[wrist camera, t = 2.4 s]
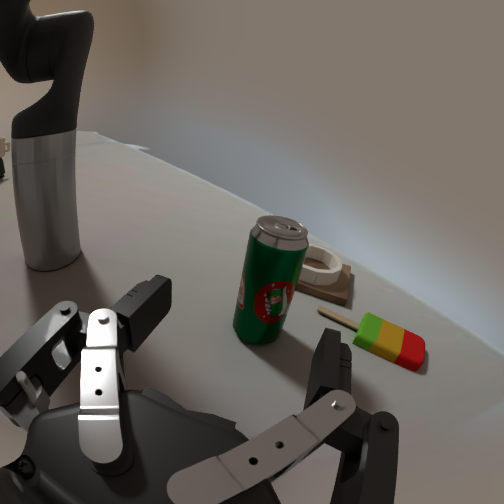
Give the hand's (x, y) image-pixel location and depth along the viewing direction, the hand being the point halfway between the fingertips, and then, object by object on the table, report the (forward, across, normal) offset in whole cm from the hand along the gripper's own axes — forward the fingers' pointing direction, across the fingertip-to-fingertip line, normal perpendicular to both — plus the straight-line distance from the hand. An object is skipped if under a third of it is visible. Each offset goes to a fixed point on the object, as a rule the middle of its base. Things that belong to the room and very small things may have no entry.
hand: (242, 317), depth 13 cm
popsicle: (+16, -13, +12) cm, 24 cm away
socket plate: (+26, -4, +11) cm, 29 cm away
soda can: (+12, 0, +11) cm, 16 cm away
